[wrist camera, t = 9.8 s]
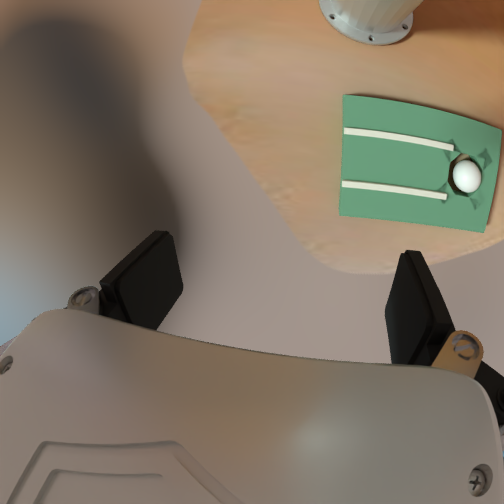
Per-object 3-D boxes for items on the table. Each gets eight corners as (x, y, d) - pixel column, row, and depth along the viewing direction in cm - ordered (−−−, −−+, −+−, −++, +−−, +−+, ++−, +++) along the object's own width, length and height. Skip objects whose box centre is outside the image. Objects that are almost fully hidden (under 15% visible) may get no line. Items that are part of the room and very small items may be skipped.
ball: (449, 176, 31) (446, 160, 28) (472, 166, 28) (471, 149, 25) (460, 202, 29) (460, 187, 26) (485, 192, 27) (486, 176, 23)
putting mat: (342, 95, 29) (344, 94, 27) (493, 127, 24) (504, 130, 21) (338, 208, 37) (339, 217, 35) (477, 226, 32) (485, 234, 29)
